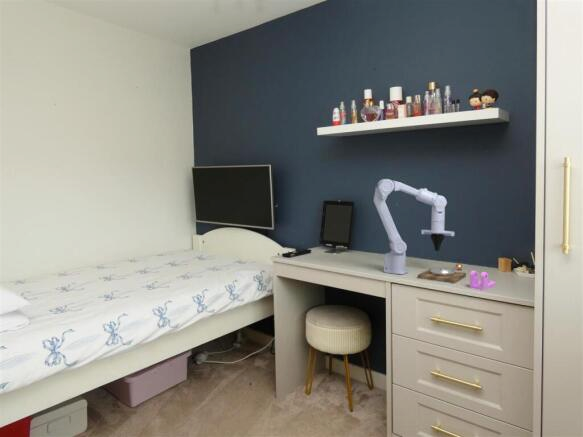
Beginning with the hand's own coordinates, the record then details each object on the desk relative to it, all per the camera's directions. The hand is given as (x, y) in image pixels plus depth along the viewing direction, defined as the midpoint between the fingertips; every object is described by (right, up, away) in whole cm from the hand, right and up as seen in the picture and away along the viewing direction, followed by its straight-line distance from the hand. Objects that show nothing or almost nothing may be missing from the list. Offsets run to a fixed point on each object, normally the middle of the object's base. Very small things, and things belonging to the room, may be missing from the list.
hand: (437, 250), depth 198 cm
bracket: (+10, -13, -25) cm, 30 cm away
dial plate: (-1, -11, -8) cm, 14 cm away
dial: (+1, -10, -9) cm, 13 cm away
